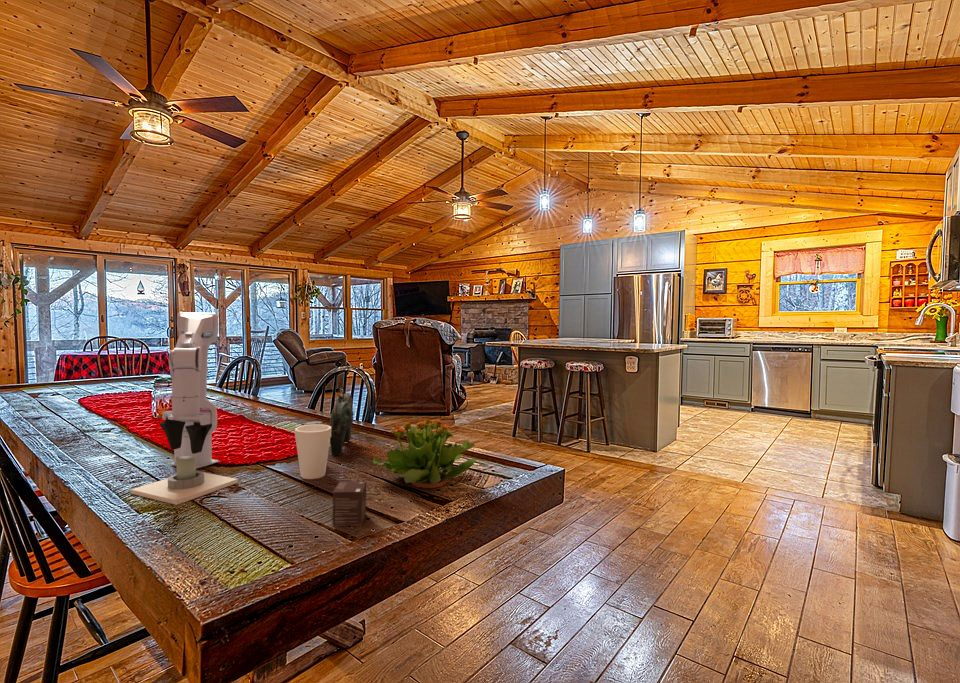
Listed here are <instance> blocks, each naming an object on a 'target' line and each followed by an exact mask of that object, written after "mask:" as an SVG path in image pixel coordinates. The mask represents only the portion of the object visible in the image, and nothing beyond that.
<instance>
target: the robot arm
mask: <svg viewBox="0 0 960 683" xmlns="http://www.w3.org/2000/svg"><path fill="white" fill-rule="evenodd" d="M218 315H219V314H218V313H216V312H196V311H195V312H192V311H191V312H190V311H189V312H188V311H179V312H178V314H177V317H176V327H177V331H178V336H179V337H177V338H178V339H177V341H176V344H175V347H174V348H173V349H170V350H169V354H168V366H169V374H170V376H169V377H170V379H172V380H171V407H172V408H171V410H165V411H162V412H161V413H162V416H161V419H162V420H164V421H162V422H160V423H159V426H160V427H161V429H162V430H163V432H164V434H165V436H166V439H167V441H168V444H169V449H170V450H172V451H174V452H173V457H174V459H173V460H174V462H172V463H171V466H174V467H177V463H176V459H177V458H179V457H183V456H195V457H196V469H200V468H204V467H206V466H209V465H214V464H216V463H219V461H220V460H218V459H214V458H212V453H213V452H212V448H213V447H212V433H213V432H215V431H216V430H217V429H218V427H217V426H218V412H217V410H218V409H217V406H216V404H215V403H214V402H212V401H210V400H209V399H207V388H208V387H207V386H208V382H207V381H208V380H207V379H208V359H209V358H208V356H209V353H208V352H209V349H210V346H211V345H212V344H213V343H215V342H217V339H218V333H219V332H218V330H219V316H218Z"/></svg>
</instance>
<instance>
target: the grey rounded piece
mask: <svg viewBox="0 0 960 683" xmlns="http://www.w3.org/2000/svg"><path fill="white" fill-rule="evenodd" d="M176 463H177V466H176V474H177V480H186V479H192V478H195V477H196V471H197V470H196V457H195V456H183V457H179V458H177V459H176Z"/></svg>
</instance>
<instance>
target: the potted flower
mask: <svg viewBox="0 0 960 683" xmlns="http://www.w3.org/2000/svg"><path fill="white" fill-rule="evenodd" d="M434 429H435V431H433V430H434ZM392 434H393V435H394V436H396V437H397V440H396V441H397V442H398V443H399V445H396V447H397V448H395V449H394V450H393V449H390V450H388V451H387V452H385V455H386V457H387V459H385V461H383V462H380V460H379V459H378V457H374V458H373V459H372V463H373V465H378V466H381V467H385V469H387V470H390V472H392V473H394V474H398V475H403V478H404V483H406V484H408V483H412V484H413V485H412V484H411V485H412V486H414V485H415V487H417V488H420V487H422V489H437V488H441V487H443V485H444V486H445V485H446V484H447V482H448V480H450V479H453V478H456V477H458V476H460V475H462V474H463V473H465V472H466V471H468V470H469V469H470V468H471V467H472V466H474V464H475V463H476V461H477V460H476V459H475V458H471V459H468V460H465V461H463V462H462V463H459V464H458V465H457V466H455V465H454V463H455V462H456V461H457V460H459V459H460V458H462V457H463V456H464V454H462V453H464V452H465V451H468V450H470V449H473V448H474V447H475V443H472V442H470V441H469V440H464V441H462V444H460V443H457V442H455V443H454V444H453V443H448V444H446V443H447V441H448V439H449V438H450V437H451V438H452V437H453V438H454V435H453V433H452V430H449V426H448V425H447V424H444V422H443V421H442V420H440V419H437V420H431V419H427V418H425V419H424V420H419V421H418V423H416V425H415V426H413V425H412V424H411V422H409V421H407V422H404V424H403V427H402V426H401V427H400V426H394V427H393V430H392ZM405 436H406V441H407V448H408V449H407V448H406V447H405V446H404V444H403V443H402V440H401V438H405ZM445 445H446V446H445ZM453 465H454V466H453ZM446 473H447V474H446ZM436 487H437V488H436Z"/></svg>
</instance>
